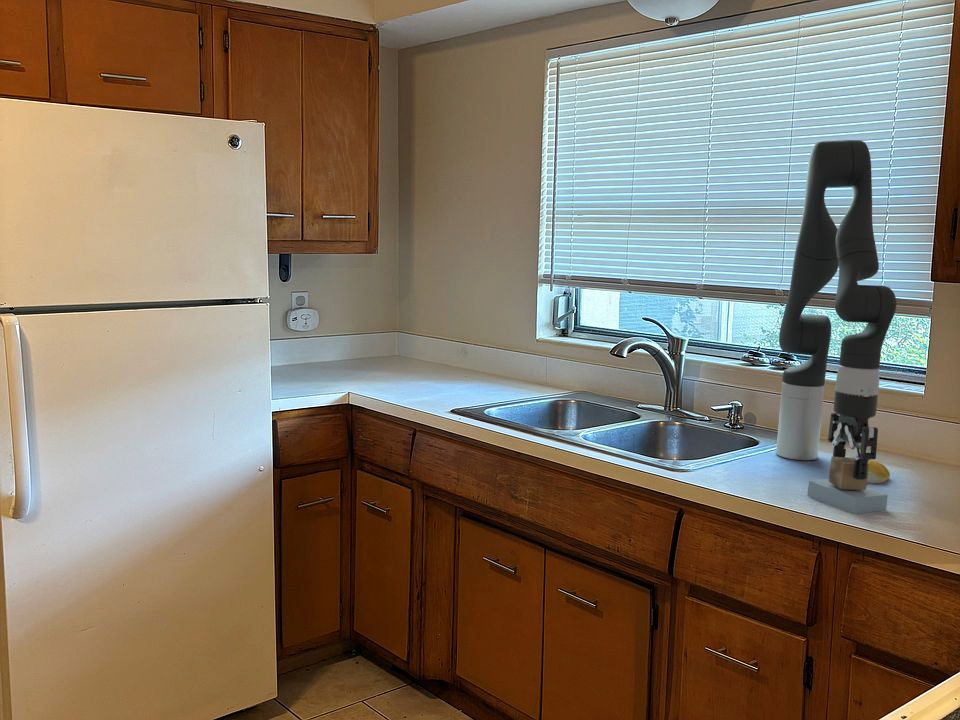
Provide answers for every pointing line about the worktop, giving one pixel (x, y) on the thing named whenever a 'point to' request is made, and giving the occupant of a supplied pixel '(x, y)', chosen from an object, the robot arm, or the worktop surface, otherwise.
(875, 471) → the bread roll
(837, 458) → the walnut cube
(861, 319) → the robot arm
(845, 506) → the butter dish
